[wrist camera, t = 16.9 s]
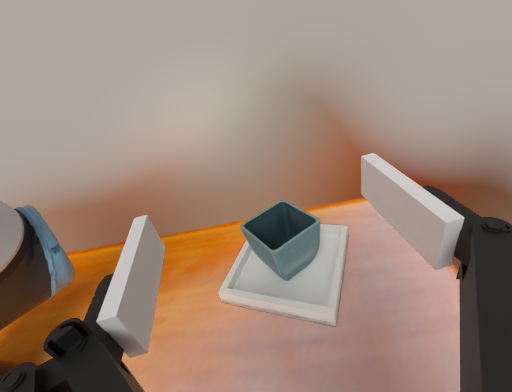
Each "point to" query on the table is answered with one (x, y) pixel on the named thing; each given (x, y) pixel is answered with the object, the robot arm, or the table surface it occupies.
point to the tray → (292, 282)
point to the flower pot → (284, 238)
